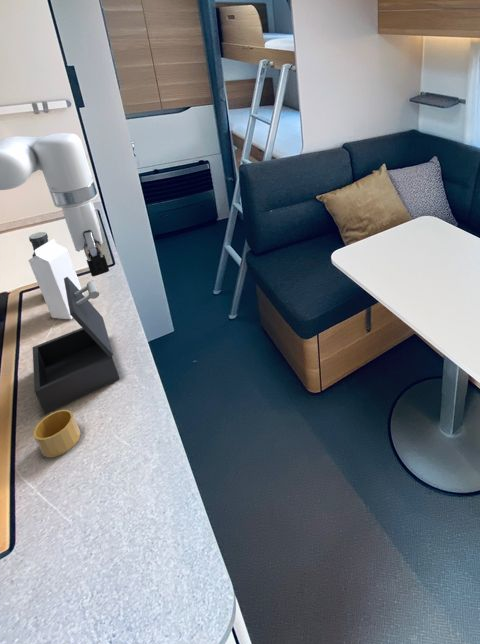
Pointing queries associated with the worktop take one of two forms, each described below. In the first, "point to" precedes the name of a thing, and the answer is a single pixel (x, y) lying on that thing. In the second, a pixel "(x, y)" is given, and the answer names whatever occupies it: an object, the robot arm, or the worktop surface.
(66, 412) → the cup
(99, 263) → the robot arm
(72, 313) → the lid
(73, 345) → the dark grey storage bin
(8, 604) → the worktop surface
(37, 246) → the sauce bottle
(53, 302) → the milk
